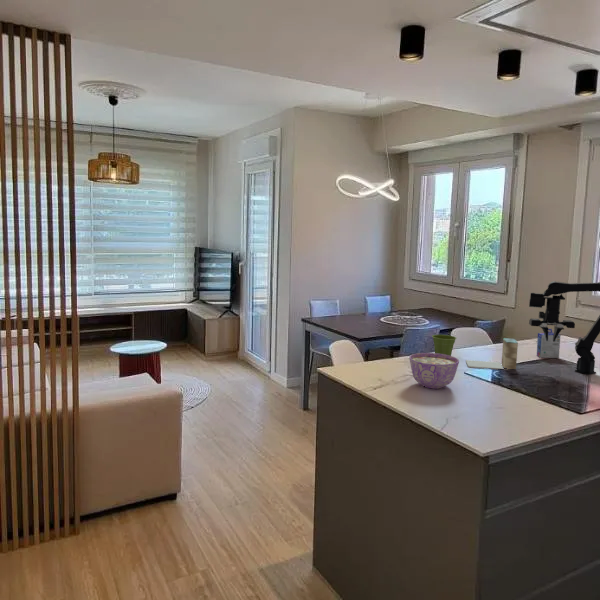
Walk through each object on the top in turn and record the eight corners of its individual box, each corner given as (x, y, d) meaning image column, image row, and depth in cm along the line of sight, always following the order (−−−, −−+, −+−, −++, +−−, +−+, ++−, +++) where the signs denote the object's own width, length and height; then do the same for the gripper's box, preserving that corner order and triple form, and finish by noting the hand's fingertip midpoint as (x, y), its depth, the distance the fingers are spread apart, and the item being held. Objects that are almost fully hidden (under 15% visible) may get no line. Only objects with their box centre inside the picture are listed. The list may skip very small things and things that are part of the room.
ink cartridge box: (554, 355, 272) (556, 328, 270) (559, 358, 267) (561, 330, 265) (535, 355, 273) (537, 328, 271) (540, 357, 267) (542, 330, 265)
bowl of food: (422, 394, 203) (424, 365, 202) (399, 380, 222) (400, 353, 221) (467, 391, 209) (469, 363, 207) (441, 377, 228) (442, 351, 226)
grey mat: (500, 363, 254) (500, 362, 254) (504, 369, 242) (504, 368, 242) (465, 361, 257) (465, 360, 257) (468, 367, 246) (468, 366, 246)
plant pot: (456, 362, 255) (457, 339, 253) (431, 360, 257) (432, 338, 256) (454, 356, 266) (455, 335, 265) (430, 355, 269) (431, 333, 267)
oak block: (512, 365, 251) (514, 338, 250) (515, 370, 243) (517, 342, 241) (501, 364, 252) (503, 338, 251) (504, 369, 244) (506, 342, 242)
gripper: (569, 307, 249) (566, 339, 251) (527, 305, 253) (525, 336, 255) (576, 310, 238) (573, 344, 240) (532, 308, 242) (530, 341, 244)
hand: (550, 341), depth 245 cm, fingers open, 3 cm apart
